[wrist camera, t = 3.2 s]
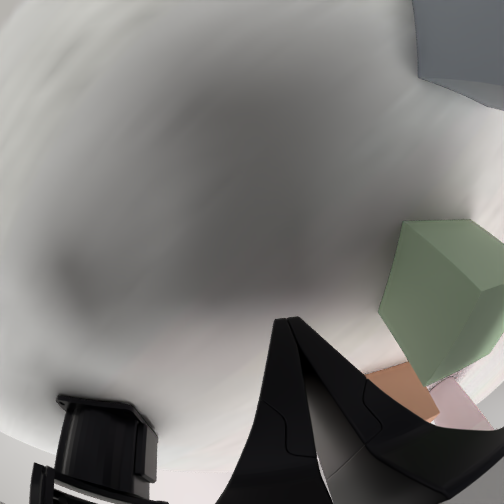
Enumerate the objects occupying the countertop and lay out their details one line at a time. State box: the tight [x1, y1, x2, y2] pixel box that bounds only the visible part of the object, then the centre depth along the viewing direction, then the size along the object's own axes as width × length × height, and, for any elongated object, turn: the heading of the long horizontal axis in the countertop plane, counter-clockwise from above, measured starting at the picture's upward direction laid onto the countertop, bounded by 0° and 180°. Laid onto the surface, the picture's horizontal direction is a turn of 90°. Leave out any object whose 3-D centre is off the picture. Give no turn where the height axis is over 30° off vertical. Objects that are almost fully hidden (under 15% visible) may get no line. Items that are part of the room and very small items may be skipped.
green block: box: [378, 219, 504, 387], centre depth 10 cm, size 5×5×5 cm
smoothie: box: [429, 377, 497, 431], centre depth 15 cm, size 6×6×14 cm
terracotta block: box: [365, 362, 440, 423], centre depth 15 cm, size 5×5×5 cm
